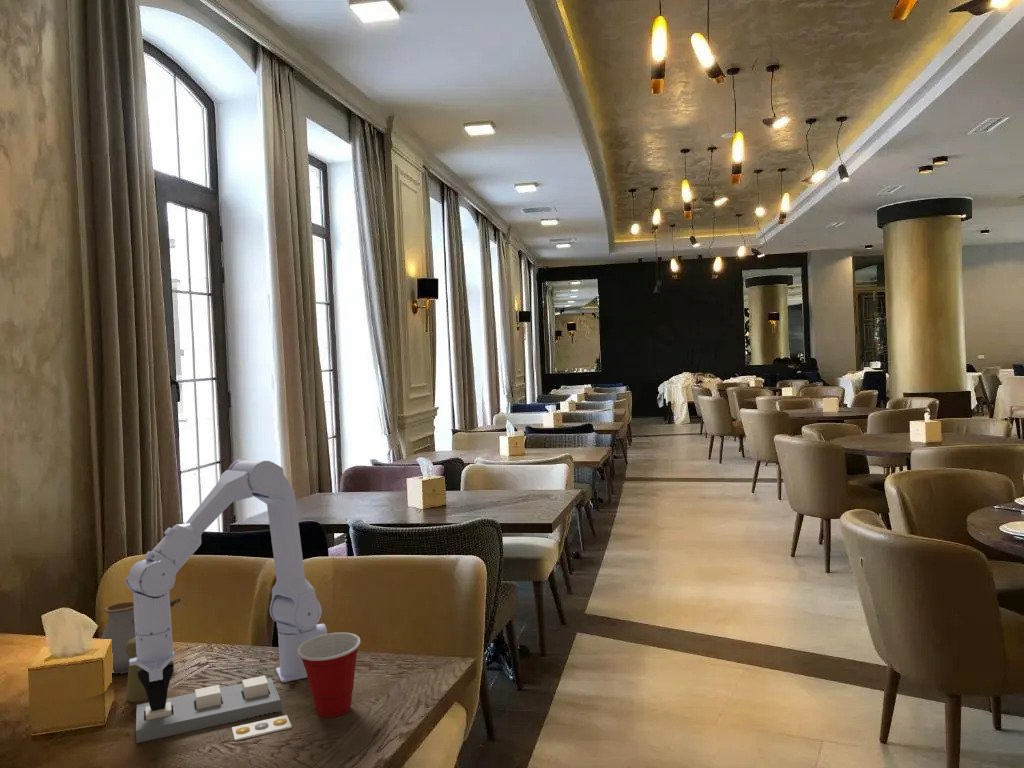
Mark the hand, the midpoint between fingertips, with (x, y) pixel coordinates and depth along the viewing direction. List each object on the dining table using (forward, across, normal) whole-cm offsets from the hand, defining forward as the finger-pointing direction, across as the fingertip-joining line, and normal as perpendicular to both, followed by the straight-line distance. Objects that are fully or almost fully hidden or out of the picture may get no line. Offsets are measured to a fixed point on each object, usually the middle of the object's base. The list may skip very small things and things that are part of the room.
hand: (158, 709), depth 136 cm
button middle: (+1, 0, +8) cm, 8 cm away
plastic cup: (+3, +11, +28) cm, 30 cm away
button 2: (+1, 0, +16) cm, 16 cm away
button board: (+3, 0, +8) cm, 8 cm away
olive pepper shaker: (+3, -16, -2) cm, 16 cm away
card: (+3, +12, +16) cm, 19 cm away
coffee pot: (+3, -32, -2) cm, 32 cm away
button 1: (+2, 0, 0) cm, 2 cm away
